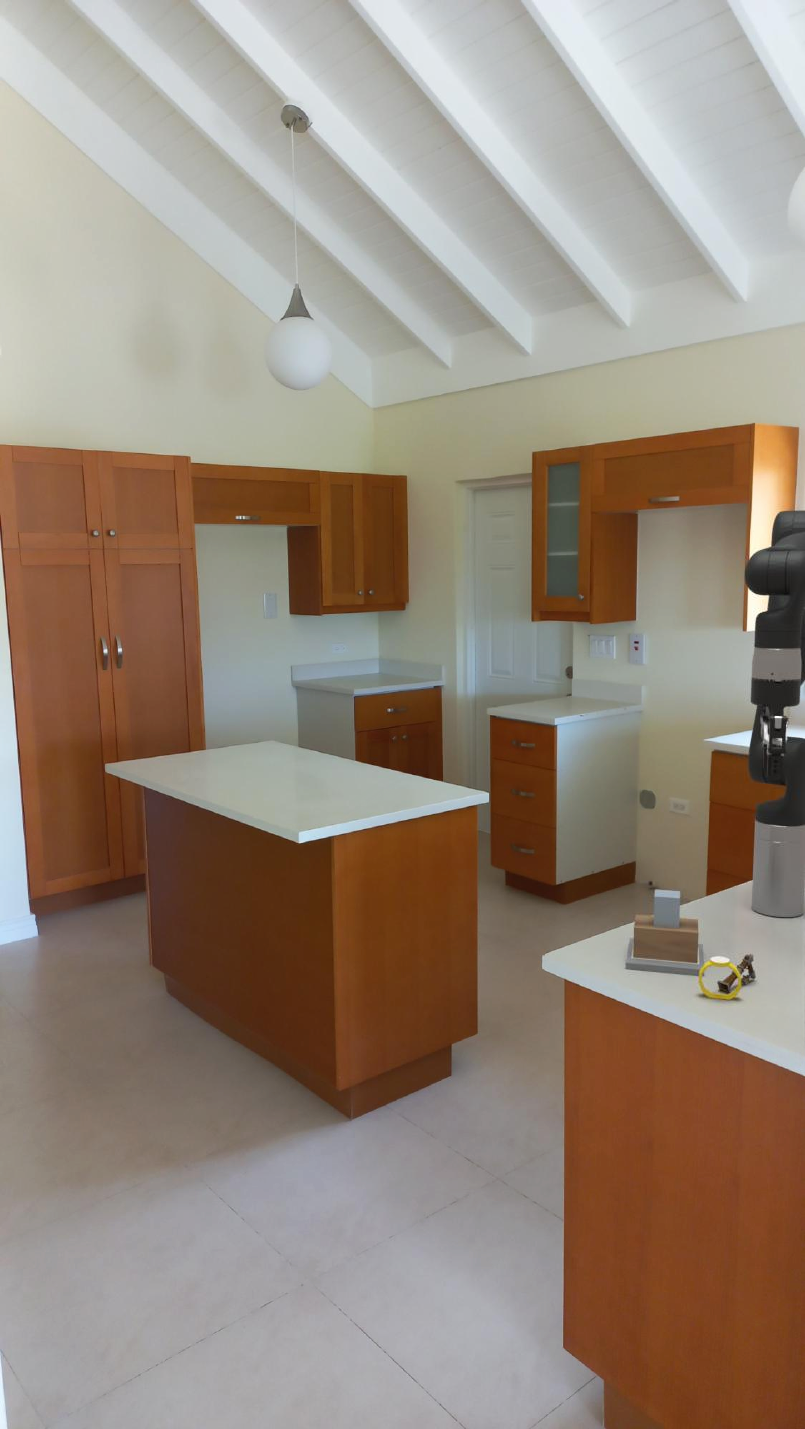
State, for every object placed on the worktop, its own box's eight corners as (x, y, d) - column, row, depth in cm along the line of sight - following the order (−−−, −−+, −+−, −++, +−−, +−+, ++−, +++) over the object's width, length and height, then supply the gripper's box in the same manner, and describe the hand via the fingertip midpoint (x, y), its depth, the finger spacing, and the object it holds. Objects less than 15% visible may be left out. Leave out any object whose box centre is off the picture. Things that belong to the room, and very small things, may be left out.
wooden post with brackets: (762, 975, 155) (756, 952, 153) (733, 1007, 151) (726, 983, 149) (752, 971, 156) (746, 948, 155) (723, 1003, 152) (716, 980, 151)
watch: (699, 1000, 148) (697, 961, 148) (699, 993, 151) (697, 955, 150) (742, 1002, 146) (740, 963, 146) (741, 995, 149) (739, 956, 148)
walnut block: (635, 943, 169) (635, 914, 168) (696, 948, 166) (697, 919, 165) (633, 957, 162) (633, 927, 161) (697, 963, 159) (698, 932, 159)
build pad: (629, 943, 171) (629, 937, 171) (702, 950, 168) (702, 943, 168) (625, 968, 160) (626, 962, 160) (704, 976, 157) (704, 969, 157)
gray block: (654, 918, 166) (655, 889, 165) (679, 920, 165) (680, 891, 164) (653, 926, 162) (654, 896, 161) (679, 928, 161) (680, 898, 160)
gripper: (748, 672, 170) (745, 766, 172) (754, 678, 156) (750, 781, 158) (796, 673, 168) (791, 768, 170) (806, 679, 154) (801, 783, 156)
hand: (772, 774), depth 164 cm, fingers open, 8 cm apart
